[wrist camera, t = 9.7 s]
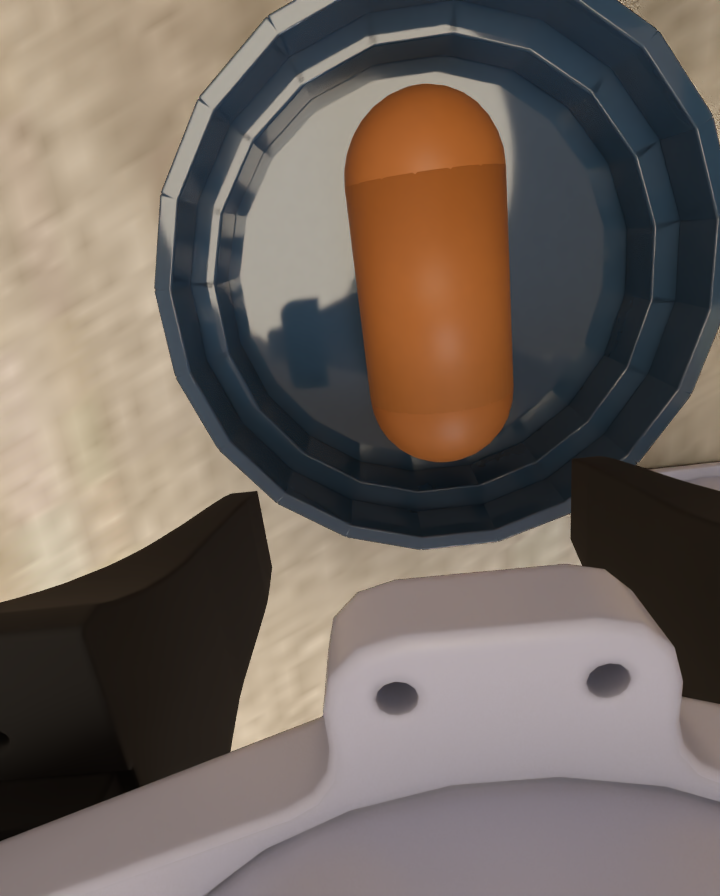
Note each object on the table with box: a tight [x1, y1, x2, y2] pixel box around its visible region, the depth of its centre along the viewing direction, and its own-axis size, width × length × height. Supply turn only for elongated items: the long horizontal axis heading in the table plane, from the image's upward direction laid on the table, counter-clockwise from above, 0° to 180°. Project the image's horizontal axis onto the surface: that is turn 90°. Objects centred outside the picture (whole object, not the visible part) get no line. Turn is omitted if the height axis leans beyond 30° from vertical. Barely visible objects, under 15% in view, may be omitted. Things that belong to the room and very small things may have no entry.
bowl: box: [154, 0, 720, 550], centre depth 18 cm, size 16×16×4 cm
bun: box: [344, 84, 513, 462], centre depth 18 cm, size 11×5×5 cm, turn 7°
